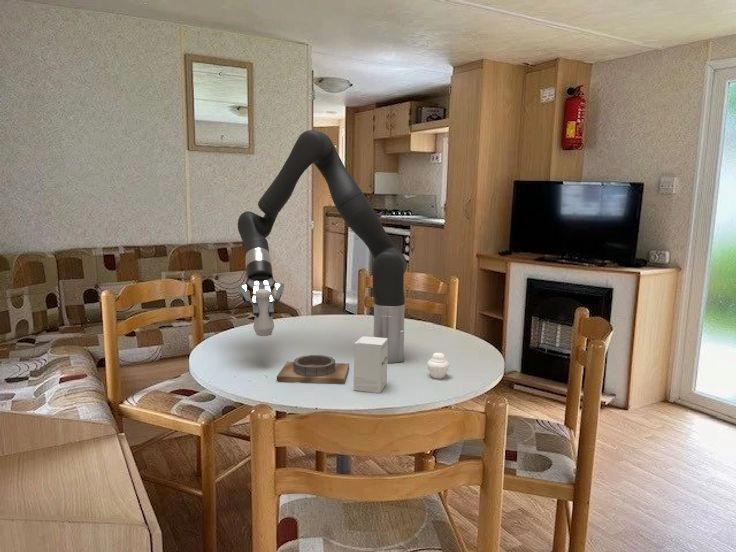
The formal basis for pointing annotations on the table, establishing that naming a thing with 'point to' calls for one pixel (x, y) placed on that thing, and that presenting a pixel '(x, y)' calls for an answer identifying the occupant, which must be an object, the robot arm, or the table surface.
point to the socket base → (314, 370)
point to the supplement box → (370, 364)
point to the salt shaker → (263, 314)
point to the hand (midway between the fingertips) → (264, 315)
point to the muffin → (438, 365)
